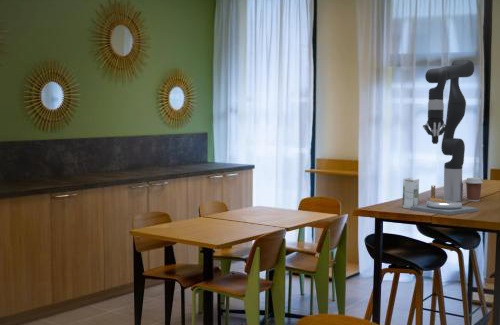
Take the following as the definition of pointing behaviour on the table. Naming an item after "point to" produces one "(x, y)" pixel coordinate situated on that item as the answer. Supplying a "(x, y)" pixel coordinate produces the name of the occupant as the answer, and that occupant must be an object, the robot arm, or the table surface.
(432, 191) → the dial
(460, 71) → the robot arm
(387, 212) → the table surface
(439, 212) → the base
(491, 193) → the table surface
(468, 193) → the coffee cup
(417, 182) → the syrup box
